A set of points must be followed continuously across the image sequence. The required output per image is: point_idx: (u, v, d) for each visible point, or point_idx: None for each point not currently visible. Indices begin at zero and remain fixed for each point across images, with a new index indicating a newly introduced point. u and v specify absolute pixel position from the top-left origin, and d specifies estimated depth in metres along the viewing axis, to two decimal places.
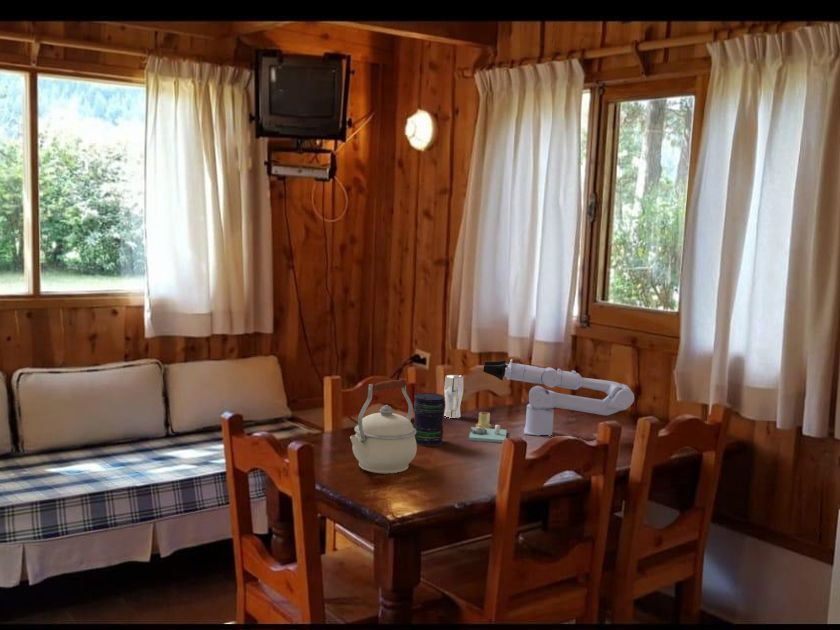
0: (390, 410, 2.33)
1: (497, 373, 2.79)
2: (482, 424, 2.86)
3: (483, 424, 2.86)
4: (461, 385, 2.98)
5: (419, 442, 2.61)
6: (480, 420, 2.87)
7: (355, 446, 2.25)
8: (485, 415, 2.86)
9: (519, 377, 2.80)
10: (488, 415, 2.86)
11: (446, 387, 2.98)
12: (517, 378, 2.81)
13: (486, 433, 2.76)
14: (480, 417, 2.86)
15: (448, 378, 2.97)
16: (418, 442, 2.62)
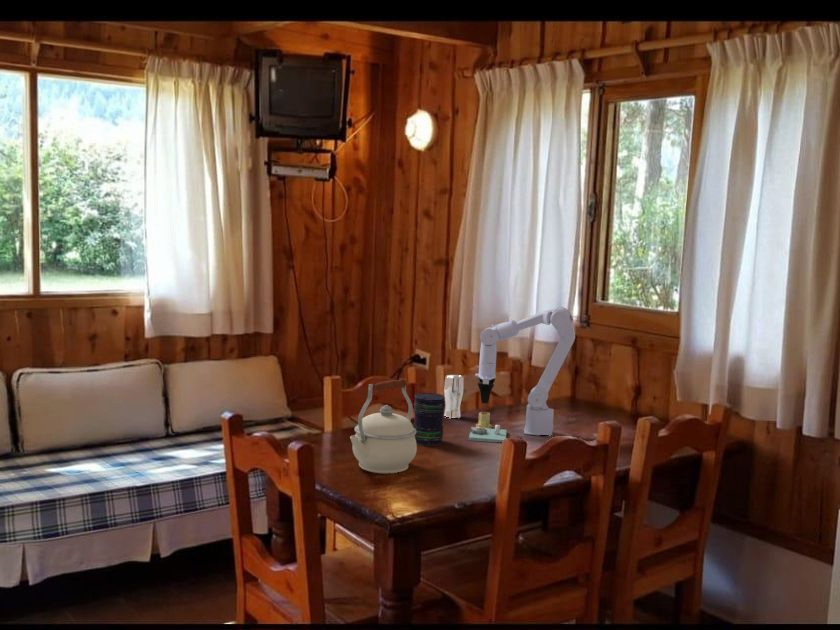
0: (390, 410, 2.33)
1: (487, 389, 2.82)
2: (482, 424, 2.86)
3: (483, 424, 2.86)
4: (461, 385, 2.98)
5: (419, 442, 2.61)
6: (480, 420, 2.87)
7: (355, 446, 2.25)
8: (485, 415, 2.86)
9: (491, 366, 2.83)
10: (488, 415, 2.86)
11: (446, 387, 2.98)
12: (492, 368, 2.83)
13: (486, 433, 2.76)
14: (480, 417, 2.86)
15: (448, 378, 2.97)
16: (418, 442, 2.62)
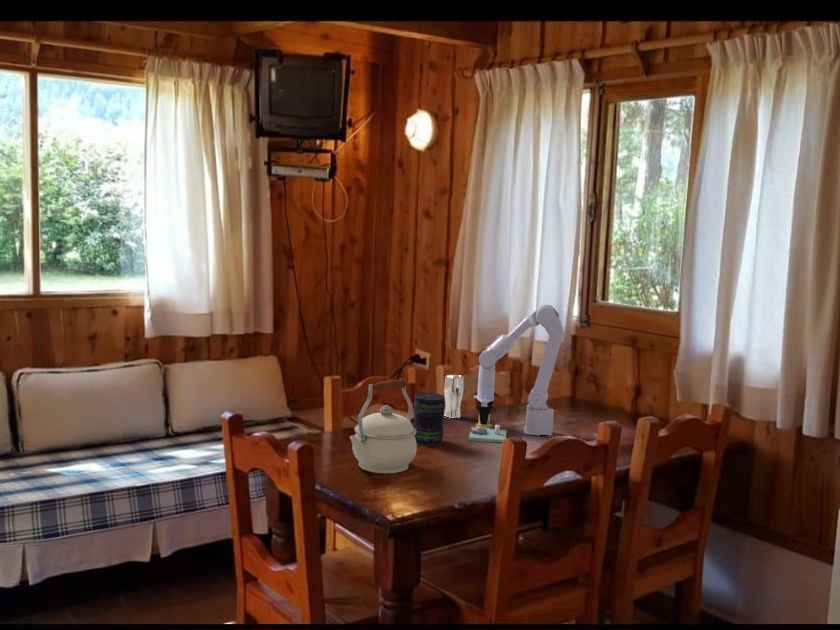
0: (390, 410, 2.33)
1: (486, 411, 2.85)
2: (482, 424, 2.86)
3: (483, 424, 2.86)
4: (461, 385, 2.98)
5: (419, 442, 2.61)
6: None
7: (355, 446, 2.25)
8: None
9: (489, 389, 2.84)
10: None
11: (446, 387, 2.98)
12: (490, 391, 2.84)
13: (486, 433, 2.76)
14: None
15: (448, 378, 2.97)
16: (418, 442, 2.62)
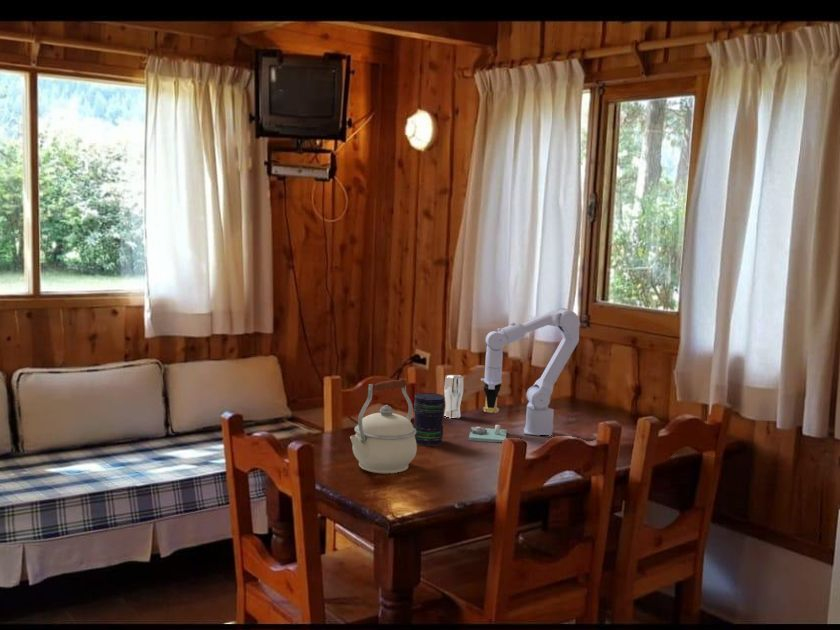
0: (390, 410, 2.33)
1: (494, 394, 2.78)
2: None
3: None
4: (461, 385, 2.98)
5: (419, 442, 2.61)
6: None
7: (355, 446, 2.25)
8: None
9: (497, 371, 2.78)
10: None
11: (446, 387, 2.98)
12: (498, 373, 2.78)
13: (486, 433, 2.76)
14: None
15: (448, 378, 2.97)
16: (418, 442, 2.62)
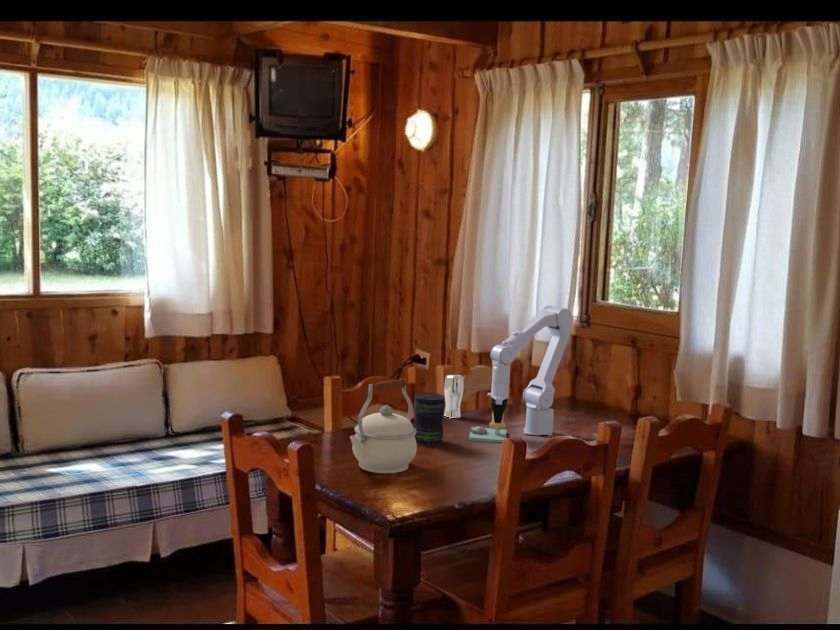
0: (390, 410, 2.33)
1: (501, 409, 2.72)
2: (496, 423, 2.73)
3: (497, 423, 2.73)
4: (461, 385, 2.98)
5: (419, 442, 2.61)
6: None
7: (355, 446, 2.25)
8: None
9: (504, 386, 2.71)
10: None
11: (446, 387, 2.98)
12: (505, 388, 2.71)
13: (486, 433, 2.76)
14: None
15: (448, 378, 2.97)
16: (418, 442, 2.62)
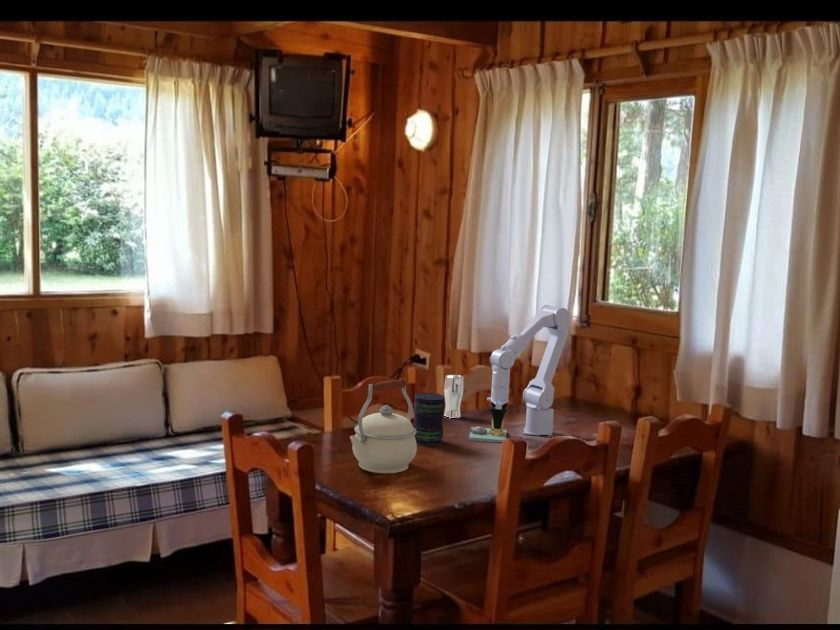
0: (390, 410, 2.33)
1: (500, 414, 2.70)
2: (495, 431, 2.74)
3: (496, 431, 2.74)
4: (461, 385, 2.98)
5: (419, 442, 2.61)
6: (493, 427, 2.74)
7: (355, 446, 2.25)
8: None
9: (504, 390, 2.71)
10: None
11: (446, 387, 2.98)
12: (505, 392, 2.72)
13: (486, 433, 2.76)
14: None
15: (448, 378, 2.97)
16: (418, 442, 2.62)
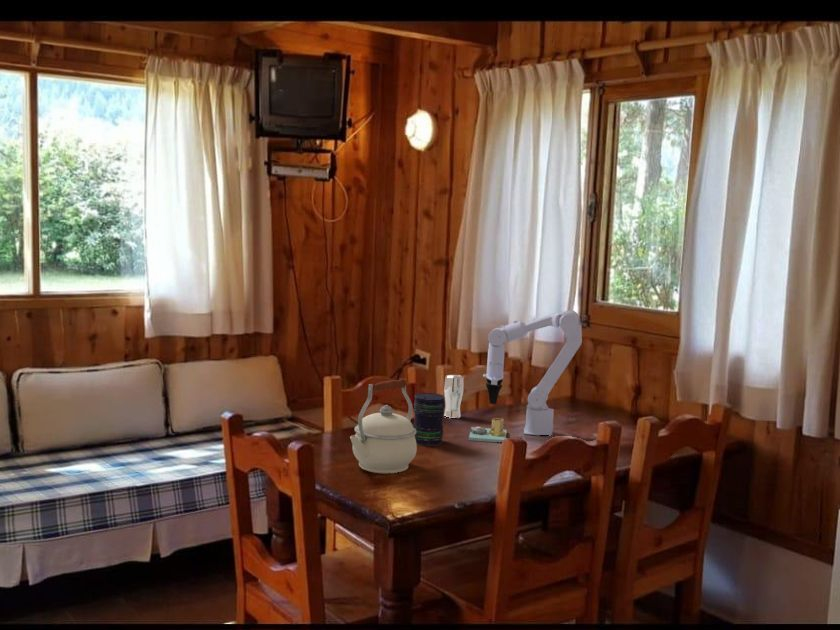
0: (390, 410, 2.33)
1: (496, 390, 2.82)
2: (495, 431, 2.74)
3: (496, 431, 2.74)
4: (461, 385, 2.98)
5: (419, 442, 2.61)
6: (493, 427, 2.74)
7: (355, 446, 2.25)
8: (499, 421, 2.73)
9: (499, 367, 2.83)
10: (502, 421, 2.74)
11: (446, 387, 2.98)
12: (500, 369, 2.83)
13: (486, 433, 2.76)
14: (493, 423, 2.74)
15: (448, 378, 2.97)
16: (418, 442, 2.62)
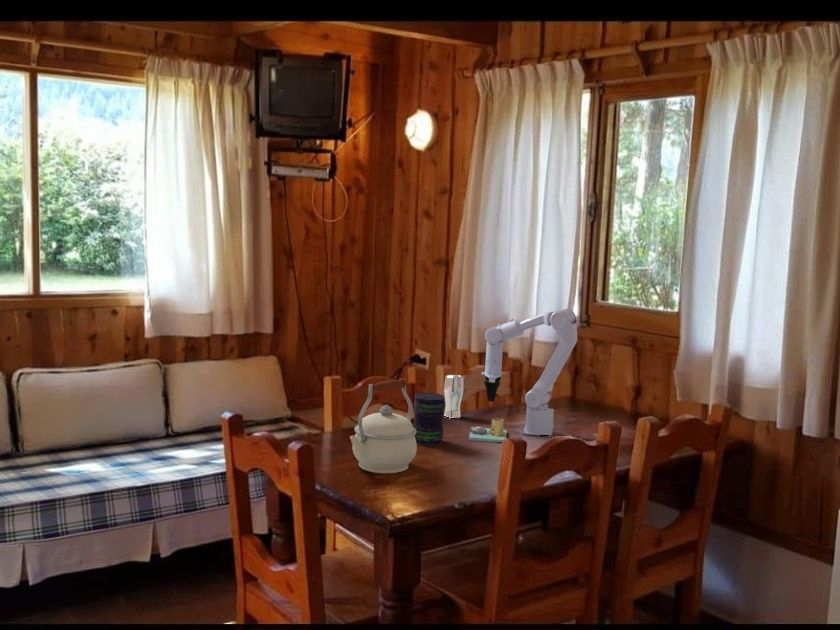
0: (390, 410, 2.33)
1: (494, 387, 2.86)
2: (495, 431, 2.74)
3: (496, 431, 2.74)
4: (461, 385, 2.98)
5: (419, 442, 2.61)
6: (493, 427, 2.74)
7: (355, 446, 2.25)
8: (499, 421, 2.73)
9: (497, 365, 2.87)
10: (502, 421, 2.74)
11: (446, 387, 2.98)
12: (498, 367, 2.87)
13: (486, 433, 2.76)
14: (493, 423, 2.74)
15: (448, 378, 2.97)
16: (418, 442, 2.62)
